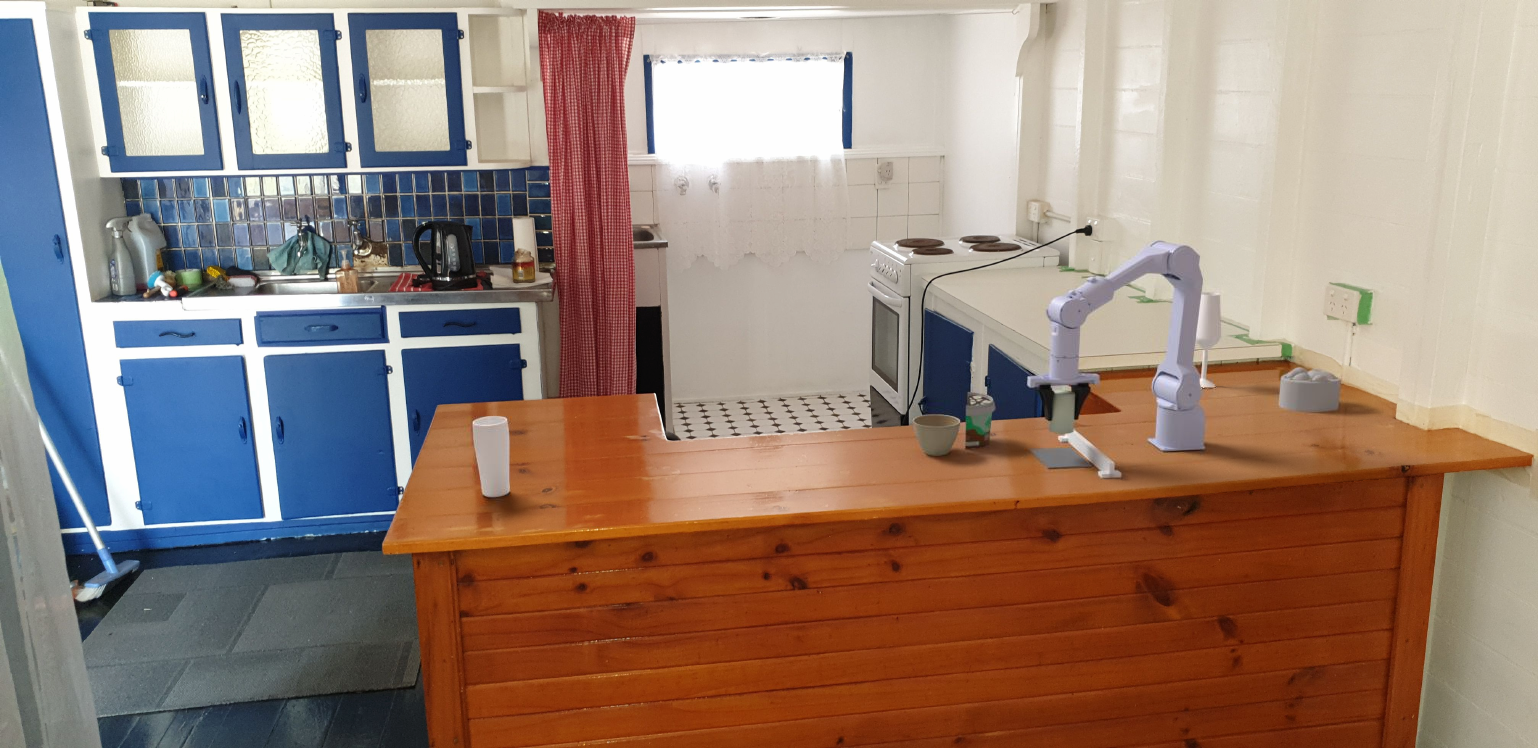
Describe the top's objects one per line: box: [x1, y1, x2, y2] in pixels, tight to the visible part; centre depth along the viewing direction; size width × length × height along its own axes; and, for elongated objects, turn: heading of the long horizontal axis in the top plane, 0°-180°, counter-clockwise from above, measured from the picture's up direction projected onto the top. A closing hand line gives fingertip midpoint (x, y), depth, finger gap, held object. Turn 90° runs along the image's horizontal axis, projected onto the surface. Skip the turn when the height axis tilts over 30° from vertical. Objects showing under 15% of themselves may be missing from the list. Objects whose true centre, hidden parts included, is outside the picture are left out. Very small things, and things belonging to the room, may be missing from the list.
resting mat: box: [1029, 447, 1092, 470], centre depth 234 cm, size 9×12×1 cm
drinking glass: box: [472, 415, 511, 498], centre depth 219 cm, size 7×7×15 cm
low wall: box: [1057, 429, 1122, 479], centre depth 234 cm, size 4×26×3 cm, turn 5°
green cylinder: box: [1048, 389, 1075, 435], centre depth 231 cm, size 5×5×8 cm
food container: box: [964, 391, 996, 450], centre depth 244 cm, size 12×6×10 cm, turn 168°
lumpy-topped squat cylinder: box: [1278, 366, 1342, 413], centre depth 267 cm, size 10×13×9 cm
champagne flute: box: [1195, 291, 1222, 388], centre depth 285 cm, size 7×7×24 cm
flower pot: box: [912, 414, 961, 457], centre depth 239 cm, size 10×10×7 cm
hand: (1061, 419), depth 232 cm, fingers closed on green cylinder, 5 cm apart
